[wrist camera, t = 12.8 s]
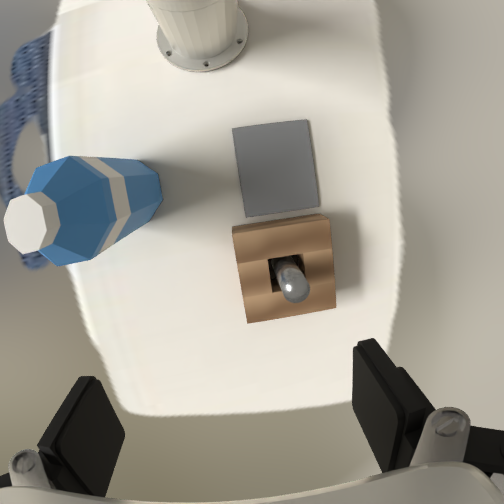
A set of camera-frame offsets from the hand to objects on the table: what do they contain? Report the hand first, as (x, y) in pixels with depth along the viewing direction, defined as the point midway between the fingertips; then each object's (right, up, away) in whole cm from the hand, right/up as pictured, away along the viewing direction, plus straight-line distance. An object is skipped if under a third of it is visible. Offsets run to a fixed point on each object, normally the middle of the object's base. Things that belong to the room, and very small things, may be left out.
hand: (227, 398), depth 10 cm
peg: (+5, +4, +35) cm, 35 cm away
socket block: (+5, +4, +35) cm, 35 cm away
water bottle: (-16, +13, +31) cm, 38 cm away
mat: (+4, +16, +32) cm, 36 cm away
